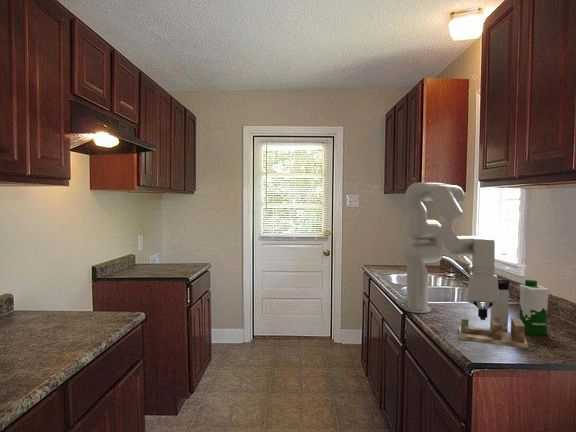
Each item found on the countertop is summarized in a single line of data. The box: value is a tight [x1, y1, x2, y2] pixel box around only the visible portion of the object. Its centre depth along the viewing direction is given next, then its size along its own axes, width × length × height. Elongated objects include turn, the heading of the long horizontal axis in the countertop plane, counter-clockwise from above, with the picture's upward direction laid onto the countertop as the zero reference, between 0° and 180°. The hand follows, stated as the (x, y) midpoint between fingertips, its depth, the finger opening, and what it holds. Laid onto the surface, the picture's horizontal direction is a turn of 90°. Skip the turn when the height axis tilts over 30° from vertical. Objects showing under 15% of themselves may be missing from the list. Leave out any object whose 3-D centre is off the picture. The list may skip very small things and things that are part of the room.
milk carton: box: [518, 279, 551, 336], centre depth 155 cm, size 9×9×20 cm
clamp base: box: [458, 317, 529, 349], centre depth 147 cm, size 22×12×7 cm, turn 67°
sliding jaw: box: [460, 315, 502, 339], centre depth 149 cm, size 13×10×5 cm
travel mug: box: [490, 279, 511, 332], centre depth 157 cm, size 6×7×20 cm
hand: (482, 319), depth 148 cm, fingers closed
